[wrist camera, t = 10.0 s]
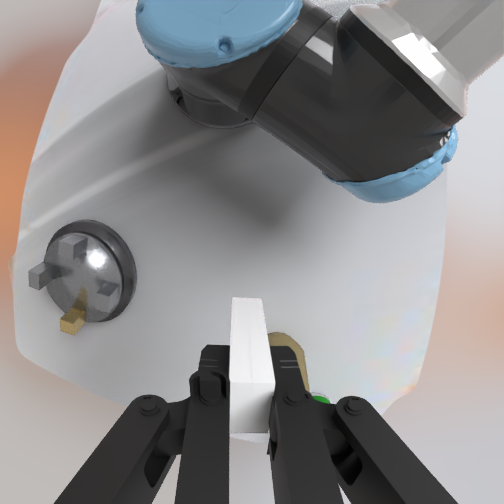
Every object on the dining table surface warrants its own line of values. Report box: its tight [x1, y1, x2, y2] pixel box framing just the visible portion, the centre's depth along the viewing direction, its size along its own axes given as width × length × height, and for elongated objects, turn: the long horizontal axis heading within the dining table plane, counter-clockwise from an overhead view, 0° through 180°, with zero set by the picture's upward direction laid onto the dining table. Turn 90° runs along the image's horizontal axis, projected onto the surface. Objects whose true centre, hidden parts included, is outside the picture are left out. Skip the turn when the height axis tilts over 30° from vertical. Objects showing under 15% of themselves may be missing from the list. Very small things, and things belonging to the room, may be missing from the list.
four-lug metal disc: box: [29, 231, 124, 335], centre depth 37 cm, size 14×14×6 cm
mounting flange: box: [46, 220, 137, 322], centre depth 41 cm, size 16×16×2 cm
